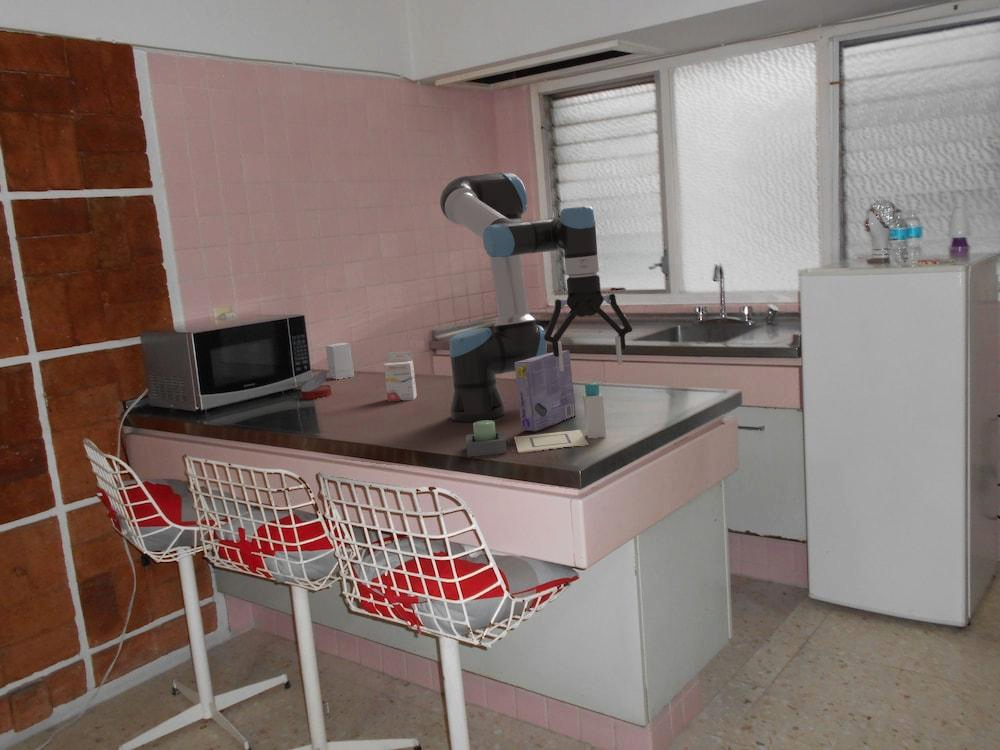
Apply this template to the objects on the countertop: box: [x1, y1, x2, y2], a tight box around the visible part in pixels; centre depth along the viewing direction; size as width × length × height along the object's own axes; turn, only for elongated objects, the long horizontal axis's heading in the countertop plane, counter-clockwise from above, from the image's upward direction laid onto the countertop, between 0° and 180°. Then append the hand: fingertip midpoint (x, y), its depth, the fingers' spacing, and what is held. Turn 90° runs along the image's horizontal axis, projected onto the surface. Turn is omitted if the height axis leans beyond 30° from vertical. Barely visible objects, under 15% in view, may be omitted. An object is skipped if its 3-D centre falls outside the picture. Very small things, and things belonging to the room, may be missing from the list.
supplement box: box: [325, 342, 355, 381], centre depth 333 cm, size 7×7×13 cm
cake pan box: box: [514, 349, 577, 433], centre depth 226 cm, size 19×5×18 cm, turn 141°
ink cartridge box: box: [383, 350, 417, 402], centre depth 279 cm, size 9×5×15 cm, turn 84°
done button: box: [472, 419, 497, 442], centre depth 207 cm, size 5×5×4 cm
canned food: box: [300, 370, 333, 400], centre depth 299 cm, size 11×10×10 cm
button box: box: [465, 430, 508, 458], centre depth 207 cm, size 9×9×3 cm
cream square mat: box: [513, 429, 589, 454], centre depth 209 cm, size 14×16×1 cm
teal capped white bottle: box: [582, 382, 607, 439], centre depth 209 cm, size 4×4×12 cm
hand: (590, 367), depth 207 cm, fingers open, 13 cm apart
